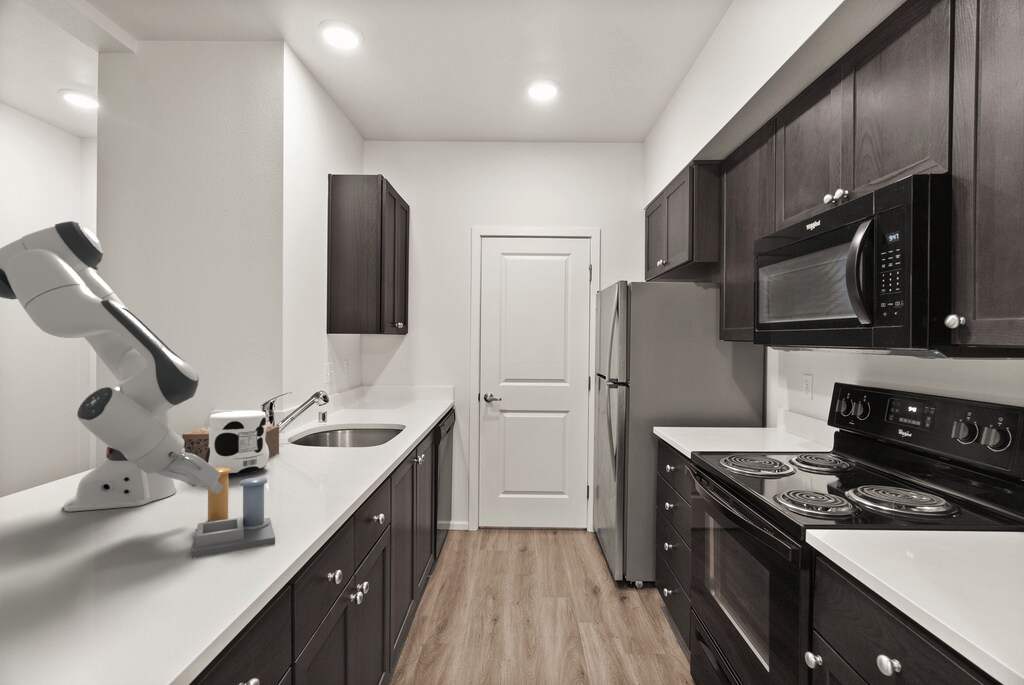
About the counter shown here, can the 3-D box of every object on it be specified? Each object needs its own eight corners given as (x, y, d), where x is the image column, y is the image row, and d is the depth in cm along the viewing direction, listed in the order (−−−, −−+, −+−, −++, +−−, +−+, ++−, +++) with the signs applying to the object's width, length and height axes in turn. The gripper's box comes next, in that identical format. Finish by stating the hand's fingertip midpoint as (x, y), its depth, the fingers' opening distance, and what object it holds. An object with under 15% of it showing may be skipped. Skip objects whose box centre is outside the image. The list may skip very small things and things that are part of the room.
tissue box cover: (279, 453, 184) (279, 426, 184) (263, 462, 169) (263, 433, 169) (204, 454, 181) (204, 426, 181) (182, 464, 167) (182, 434, 167)
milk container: (227, 465, 165) (227, 410, 165) (279, 465, 164) (279, 410, 164) (191, 479, 148) (192, 418, 148) (250, 480, 147) (250, 418, 147)
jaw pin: (204, 524, 111) (204, 474, 111) (205, 517, 115) (205, 469, 115) (231, 520, 113) (231, 471, 113) (231, 513, 118) (231, 466, 118)
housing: (192, 557, 94) (192, 500, 94) (195, 534, 105) (195, 483, 105) (275, 543, 101) (275, 489, 101) (269, 523, 112) (270, 474, 112)
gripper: (197, 443, 101) (244, 481, 109) (147, 433, 111) (193, 469, 119) (173, 470, 97) (223, 507, 105) (123, 457, 107) (172, 492, 116)
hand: (207, 487), depth 112 cm, fingers open, 8 cm apart
